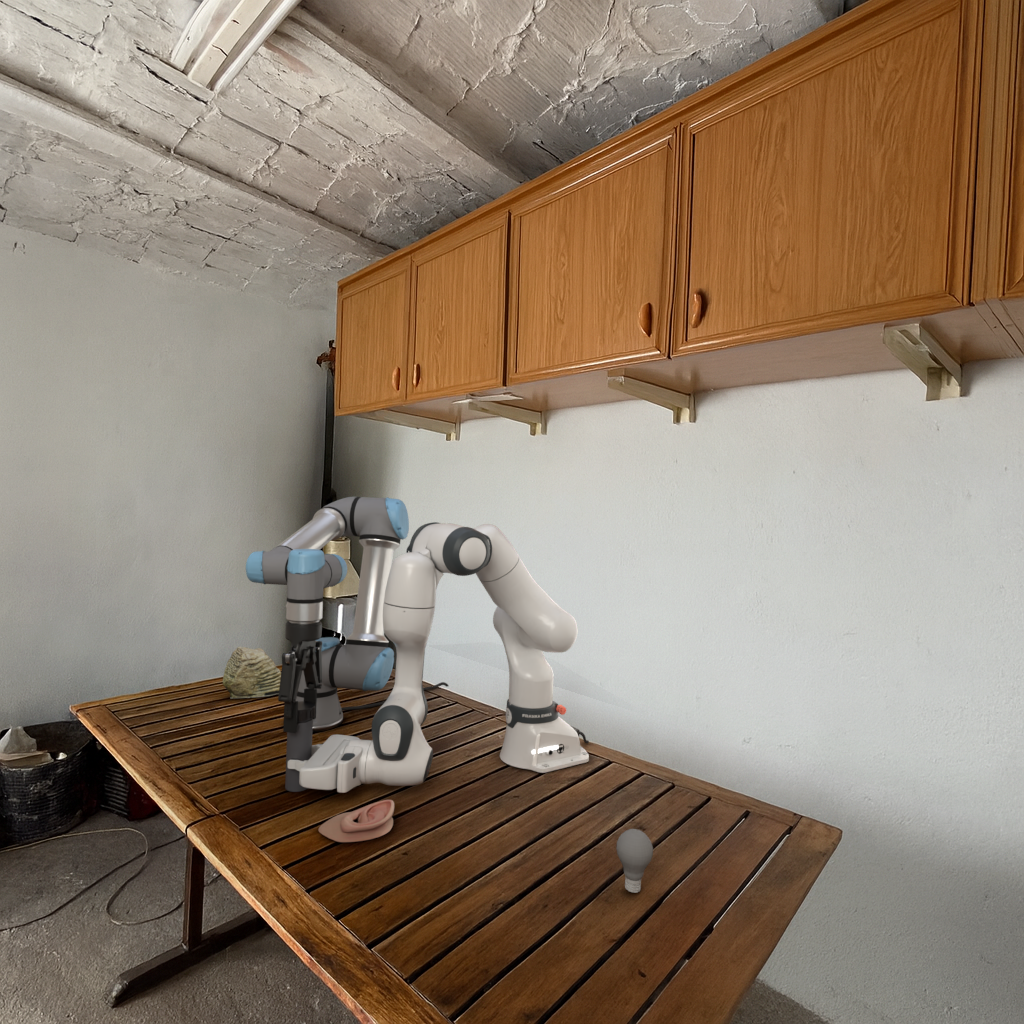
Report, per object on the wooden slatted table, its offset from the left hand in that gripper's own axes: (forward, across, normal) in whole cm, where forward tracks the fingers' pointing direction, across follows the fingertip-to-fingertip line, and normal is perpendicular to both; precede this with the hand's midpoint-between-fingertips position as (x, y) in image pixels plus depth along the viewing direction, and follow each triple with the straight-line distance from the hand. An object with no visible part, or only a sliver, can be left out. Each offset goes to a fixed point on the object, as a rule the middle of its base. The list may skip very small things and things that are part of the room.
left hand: (300, 724), depth 138 cm
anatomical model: (+14, +14, +19) cm, 27 cm away
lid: (-4, 0, 0) cm, 4 cm away
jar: (+14, 0, 0) cm, 14 cm away
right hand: (+7, 0, -1) cm, 7 cm away
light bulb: (+14, +21, +71) cm, 76 cm away
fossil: (+14, -54, -43) cm, 70 cm away
